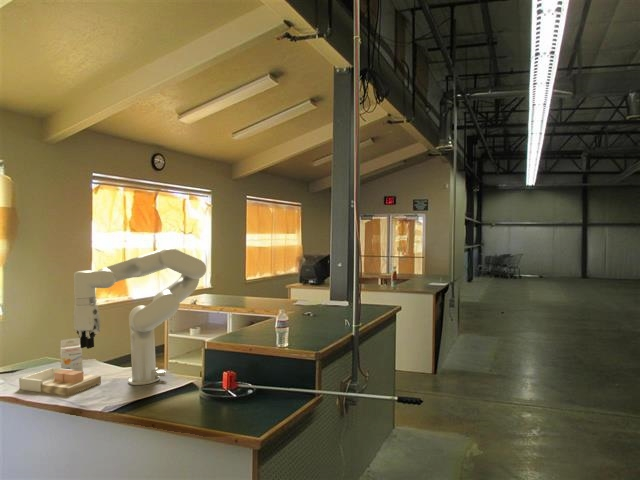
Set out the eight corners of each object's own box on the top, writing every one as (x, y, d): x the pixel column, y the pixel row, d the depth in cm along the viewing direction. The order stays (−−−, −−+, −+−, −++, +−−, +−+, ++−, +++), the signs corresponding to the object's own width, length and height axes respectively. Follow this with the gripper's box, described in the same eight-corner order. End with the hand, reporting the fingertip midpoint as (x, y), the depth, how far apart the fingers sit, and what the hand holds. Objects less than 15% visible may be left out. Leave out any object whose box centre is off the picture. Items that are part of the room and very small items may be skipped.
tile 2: (83, 379, 201) (83, 371, 201) (73, 382, 197) (73, 375, 197) (74, 378, 203) (74, 370, 203) (64, 381, 199) (63, 374, 199)
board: (100, 383, 205) (100, 376, 205) (68, 395, 191) (68, 388, 190) (74, 380, 211) (73, 373, 211) (40, 392, 196) (40, 384, 196)
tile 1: (73, 378, 204) (73, 370, 203) (63, 381, 199) (63, 373, 199) (64, 377, 205) (64, 369, 205) (54, 380, 201) (54, 372, 201)
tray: (74, 380, 211) (73, 369, 211) (40, 392, 196) (40, 380, 196) (53, 377, 215) (53, 367, 215) (19, 389, 200) (19, 378, 200)
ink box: (62, 375, 219) (60, 342, 219) (60, 372, 223) (59, 340, 223) (83, 371, 224) (81, 339, 223) (81, 369, 228) (80, 337, 227)
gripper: (108, 300, 197) (110, 346, 197) (78, 299, 203) (80, 344, 203) (93, 303, 190) (95, 351, 190) (62, 302, 196) (64, 348, 196)
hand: (87, 347), depth 197 cm, fingers open, 2 cm apart
